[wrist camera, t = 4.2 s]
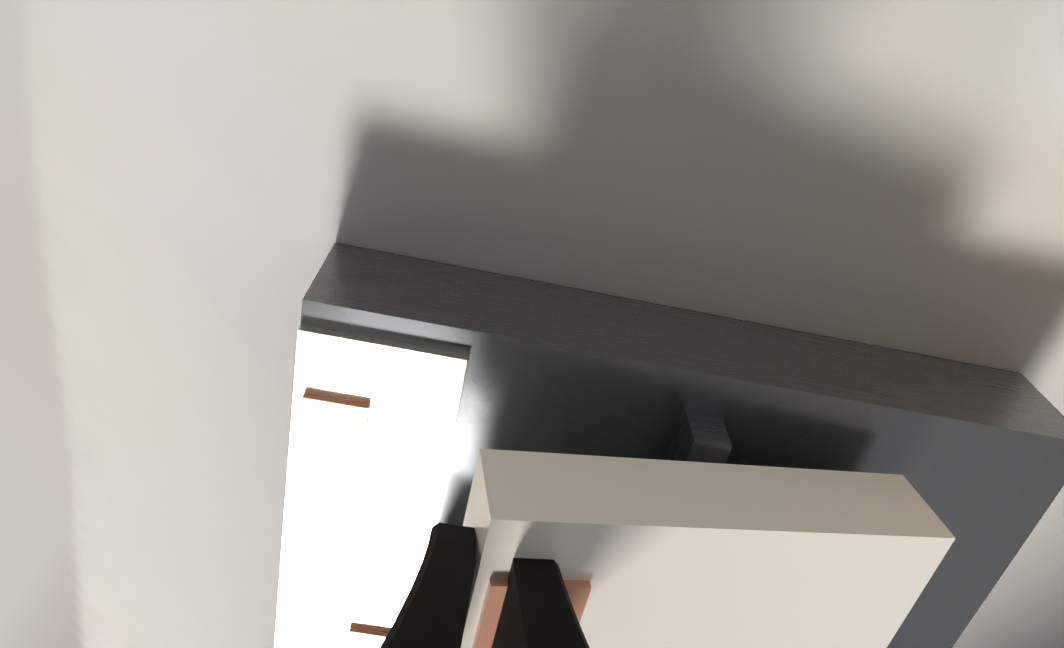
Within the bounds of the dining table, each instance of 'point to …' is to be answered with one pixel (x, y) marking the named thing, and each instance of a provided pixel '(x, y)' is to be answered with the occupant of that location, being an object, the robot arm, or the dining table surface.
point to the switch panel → (614, 426)
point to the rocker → (704, 549)
